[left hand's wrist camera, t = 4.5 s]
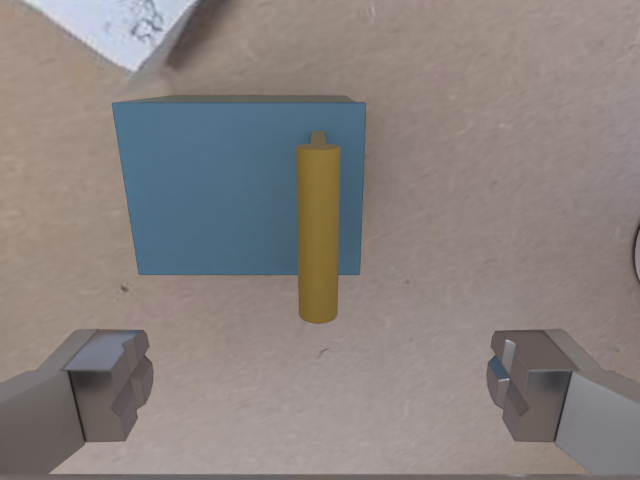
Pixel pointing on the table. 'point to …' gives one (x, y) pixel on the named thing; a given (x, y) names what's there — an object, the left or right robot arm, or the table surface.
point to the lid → (247, 191)
